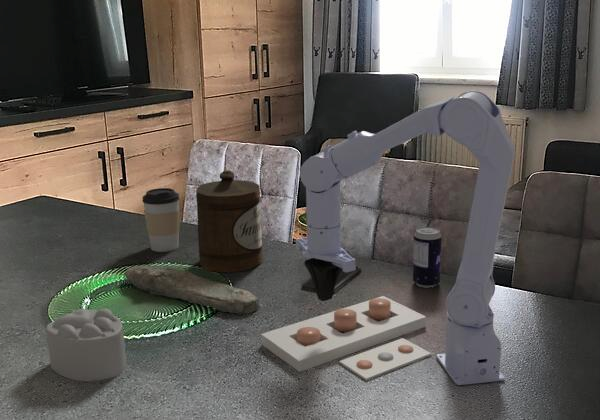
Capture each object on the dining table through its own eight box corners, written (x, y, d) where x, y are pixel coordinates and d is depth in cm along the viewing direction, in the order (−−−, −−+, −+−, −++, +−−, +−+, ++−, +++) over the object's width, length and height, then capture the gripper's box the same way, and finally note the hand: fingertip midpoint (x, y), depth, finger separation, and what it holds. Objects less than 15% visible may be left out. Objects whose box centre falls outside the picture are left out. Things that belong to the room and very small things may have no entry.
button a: (380, 308, 129) (380, 296, 129) (394, 316, 126) (395, 303, 125) (364, 314, 127) (364, 301, 126) (378, 321, 124) (378, 309, 123)
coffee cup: (143, 245, 174) (137, 188, 170) (177, 239, 178) (173, 183, 174) (151, 255, 166) (146, 196, 162) (187, 249, 170) (183, 191, 166)
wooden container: (255, 274, 153) (251, 178, 147) (191, 271, 155) (185, 177, 149) (268, 252, 167) (265, 164, 161) (210, 250, 169) (204, 163, 163)
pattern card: (402, 340, 121) (402, 337, 120) (430, 355, 115) (430, 352, 115) (339, 363, 113) (339, 359, 113) (366, 380, 108) (366, 377, 107)
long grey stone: (239, 329, 130) (269, 312, 138) (240, 303, 129) (270, 288, 137) (111, 285, 148) (145, 272, 156) (111, 262, 147) (145, 250, 155)
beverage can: (439, 290, 142) (441, 235, 138) (412, 288, 143) (413, 234, 140) (439, 279, 147) (441, 226, 144) (413, 278, 148) (414, 225, 145)
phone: (362, 267, 153) (332, 291, 141) (362, 272, 153) (333, 296, 141) (331, 262, 157) (299, 284, 144) (331, 267, 157) (299, 289, 145)
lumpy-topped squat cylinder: (93, 342, 123) (87, 298, 120) (142, 362, 115) (137, 315, 113) (42, 366, 115) (35, 319, 112) (91, 389, 107) (85, 339, 105)
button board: (383, 305, 135) (383, 295, 135) (425, 326, 125) (426, 316, 125) (261, 344, 120) (261, 334, 120) (299, 372, 111) (299, 361, 110)
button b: (347, 319, 125) (347, 307, 124) (361, 327, 122) (361, 314, 121) (329, 325, 123) (329, 312, 122) (343, 333, 120) (343, 320, 119)
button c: (311, 337, 121) (311, 324, 120) (324, 346, 118) (324, 333, 117) (292, 344, 119) (292, 330, 118) (305, 352, 116) (305, 339, 115)
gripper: (280, 218, 118) (282, 291, 122) (330, 239, 106) (331, 319, 110) (313, 211, 122) (315, 282, 126) (365, 230, 110) (365, 308, 114)
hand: (325, 298), depth 118 cm, fingers closed
